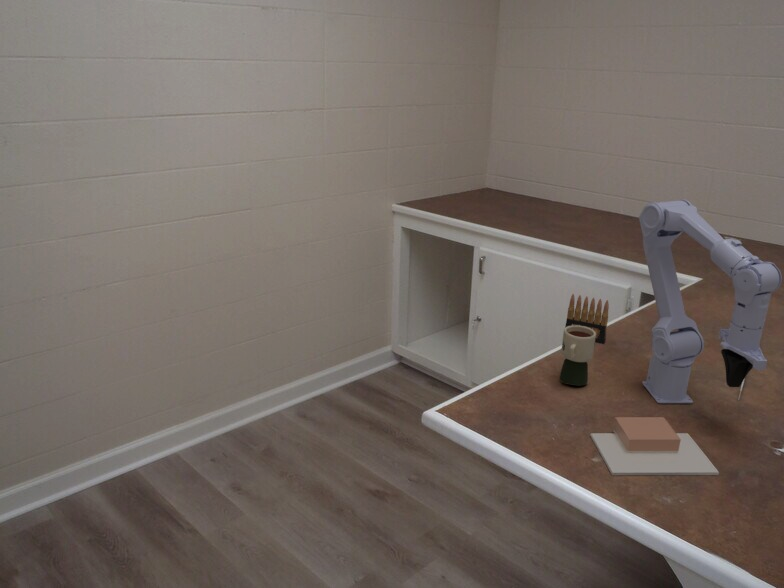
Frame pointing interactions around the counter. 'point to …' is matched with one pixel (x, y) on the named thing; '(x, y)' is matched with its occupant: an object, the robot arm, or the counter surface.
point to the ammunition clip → (589, 317)
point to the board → (653, 458)
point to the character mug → (577, 354)
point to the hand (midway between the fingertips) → (733, 385)
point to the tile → (646, 435)
